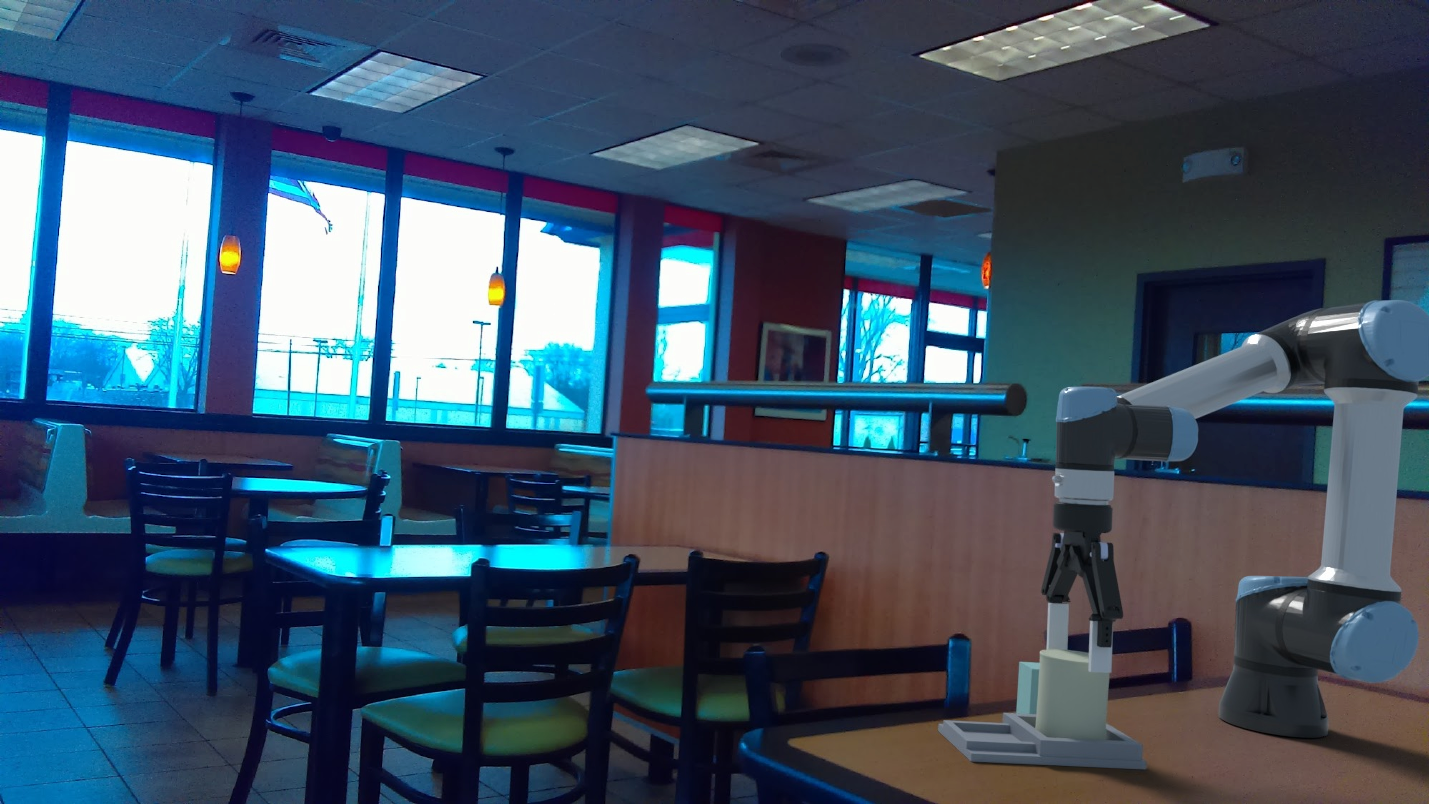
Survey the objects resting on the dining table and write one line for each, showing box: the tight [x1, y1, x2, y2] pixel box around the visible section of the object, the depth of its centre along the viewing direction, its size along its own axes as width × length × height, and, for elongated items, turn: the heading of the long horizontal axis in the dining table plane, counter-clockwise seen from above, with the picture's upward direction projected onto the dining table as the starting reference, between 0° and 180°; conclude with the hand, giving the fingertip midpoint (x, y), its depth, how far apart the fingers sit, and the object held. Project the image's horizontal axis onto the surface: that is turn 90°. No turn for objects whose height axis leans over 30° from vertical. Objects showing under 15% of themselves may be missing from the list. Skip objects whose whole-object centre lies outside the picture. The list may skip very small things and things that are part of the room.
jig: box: [937, 712, 1148, 770], centre depth 144 cm, size 23×14×3 cm, turn 95°
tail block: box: [1015, 661, 1040, 714], centre depth 161 cm, size 5×5×8 cm
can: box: [1035, 649, 1111, 740], centre depth 145 cm, size 9×9×12 cm
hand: (1077, 660), depth 145 cm, fingers open, 13 cm apart
